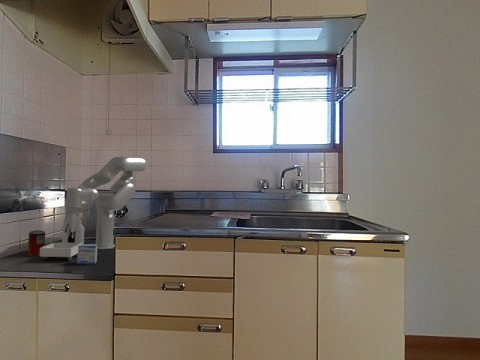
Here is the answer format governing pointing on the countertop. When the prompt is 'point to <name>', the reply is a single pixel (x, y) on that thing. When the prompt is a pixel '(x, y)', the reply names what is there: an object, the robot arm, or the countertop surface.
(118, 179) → the robot arm
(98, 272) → the countertop surface
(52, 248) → the white storage bin
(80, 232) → the jar
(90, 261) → the medicine box
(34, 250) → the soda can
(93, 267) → the countertop surface
